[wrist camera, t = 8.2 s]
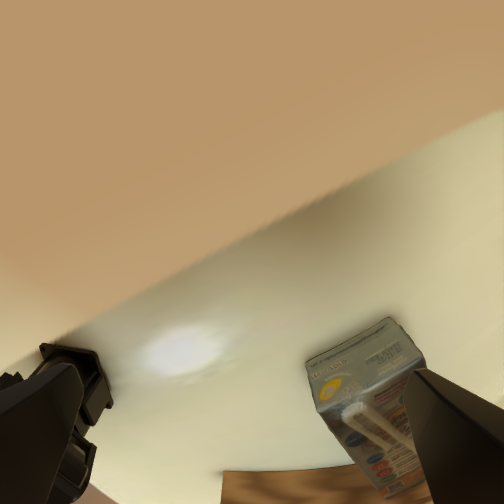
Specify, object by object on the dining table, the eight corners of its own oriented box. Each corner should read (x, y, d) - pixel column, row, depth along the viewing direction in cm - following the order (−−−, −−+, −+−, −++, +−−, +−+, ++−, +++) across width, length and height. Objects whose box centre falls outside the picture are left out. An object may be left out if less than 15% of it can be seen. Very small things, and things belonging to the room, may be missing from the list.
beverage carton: (393, 308, 21) (434, 358, 14) (432, 429, 25) (454, 469, 19) (300, 359, 22) (313, 422, 16) (371, 461, 27) (384, 504, 20)
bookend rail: (224, 477, 27) (219, 533, 19) (223, 470, 26) (217, 529, 19) (435, 451, 26) (456, 494, 19) (439, 444, 26) (462, 488, 18)
